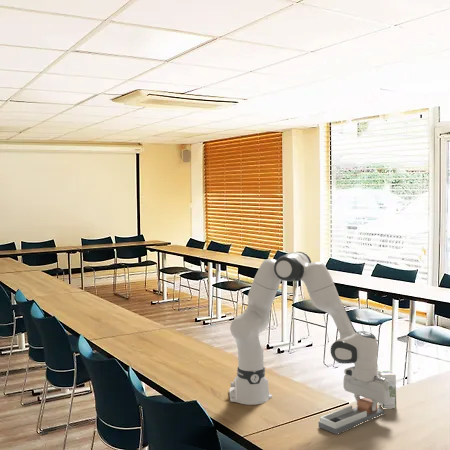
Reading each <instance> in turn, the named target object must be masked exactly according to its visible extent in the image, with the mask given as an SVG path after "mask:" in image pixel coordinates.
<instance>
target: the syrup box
mask: <svg viewBox="0 0 450 450" xmlns="http://www.w3.org/2000/svg"><path fill="white" fill-rule="evenodd" d="M396 376H397V375H396V374H395V372H393V370H378V377H380V378H384V379H385V380H386V381H387V382H388V384H389V393H390V400H389V401H388V402H387V403H384V404H383V403H380V402H378V405H379V404H380V405H381V406H382V407H383V408H396V409H397V377H396ZM386 381H385V382H386ZM380 405H379V406H380Z"/></svg>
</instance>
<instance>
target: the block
mask: <svg viewBox="0 0 450 450" xmlns="http://www.w3.org/2000/svg"><path fill="white" fill-rule="evenodd" d="M372 404H373V402H372V400H371V399H368V398H365V397H362V398H360V399H359V400H357V401H356V407H357V410H359V411H361V412H364V411H367V414H368V413H371V412H374V411H372V410H370V406H371V405H372ZM377 408H378V404H377V405H376V410H377ZM376 410H375V411H376Z"/></svg>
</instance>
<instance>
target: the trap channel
mask: <svg viewBox="0 0 450 450" xmlns="http://www.w3.org/2000/svg"><path fill="white" fill-rule="evenodd" d="M381 414H384V415H385V409H384V410H383V409H382V408H378V407H377V410H376V411H374V412H371V413H368V414H367V411H364V412H361V411H359V410H357V406H356V407H354V408H353V405H349V406H345V407H344V408H340V409H338V410H336V411H332V412H330V413H328V414H325V415H322V416H320V417H319V421H318V428H320V429H322V430H325V431H327V432H328V433H329V432H330V433H331V432H332V434H334V433H335V434H334V435H336V434H338V433H340V432H342V433H344V432H343V431H345V430H347V429H350V428H352V427H354V426H356V425H358V424H360V423H362V422H365V421H367V420H370V419H372V418H374V417H377V416H379V415H381ZM354 428H355V427H354ZM352 429H353V428H352ZM350 430H351V429H350ZM347 431H348V430H347ZM345 432H346V431H345ZM340 434H341V433H340ZM338 435H339V434H338Z"/></svg>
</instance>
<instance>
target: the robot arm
mask: <svg viewBox="0 0 450 450" xmlns="http://www.w3.org/2000/svg"><path fill="white" fill-rule="evenodd" d="M257 269H258V270H257V272H256V274H255V276H254V278H253V280H252V283H251V286H250V288H249V291H248V294H247V298H248V300H247V306H246V309H245V310H244V312H243V313H241V314H238V315H237V316H236V317H234V319H232V321H231V323H230V327H229V328H230V329H229V330H230V333H231V335H232V336H233V338H234V339H235V343H236V347H237V359H238V362H237V363H238V365H237V366H238V367H237V370H236V377H234V379H233V381H231V382H230V387H229V389H228V392H229V401H230V402H232V403H233V402H234V403H239V404H241V405H246V406H247V405H248V406H252V405H256V406H257V405H261V404H264V403H266V402H267V401H269V400H270V399H272V398H273V394H271V393H270V388H269V379H268V378H267V377H266V368H265V366H264V365H265V364H264V363H265V361H264V349H263V347H262V345H261V342H260V341H261V340H260V337H259V336H260V334H261V333H262V332H264V331H265V330H266V328H267V327H268V326H269V324H270V320H271V319H270V315H271V310H272V309H271V308H272V306H273V302H274V300H275V297H276V295H277V292H278V291H279V287H280V285H281V282H282V281H285V282H299V281H302V282H303V283H304V285H305V287H306V289H307V292H308V295H309V298H310V301H311V302H312V304H313V306H314V307H315V308H316V309H317V310H320V311H322V312H325V313H327V314H328V315H329V316H331V318H332V319H333V322H334V324H335V326H336V328H337V332H338V333H339V338H338V339H336V340H335V341H334V342H333V343H332V344H331V346H330V351H329V352H330V355H331V357H332V358H333V359H332V360H334V361H335V362H336V363H338V364H354V366H351V367H347V368H345V369H344V371H343V373H344V377H343V388H344V391H345V392H348V393H351V394H353V397H354V398H355V400H356V402H357V400H359V399H361V397H362V398H368V399H371V400H372V402H373V404H372V405H371V406H370V410H372V411H375V410H376V405H377V406H378V404H379V402H380V403H383V404H384V403H387V402H388V401H389V400H390V393H389V384H388V382H387V381H386V380H385V379H384V378H380V377H378V371H379V370H378V369H379V367H378V366H379V365H378V361H377V360H378V357H379V355H378V354H379V350H378V341H377V337H376V336H375V335H374V334H373V333H371V332H369V331H366V330H365V331H361V330H359V331H357V330H356V329H355V327H354V325H353V323H352V321H351V320H352V319H350V317H349V315H348V311H347V310H346V307H345V305H344V304H343V302H342V300H341V298H340V296H339V293H338V290H337V287H336V286H335V282H334V280H333V278H332V275H331V273H330V271H329V270H328V268H327V267H326V265H325V264H324V263H322V262H321V261H313V262H312V260H311V258H310V257H309V255H308V254H306V253H305V252H302V251H296V252H295V251H294V252H293V251H292V252H288V253H287V254H284V255H281V256H279V257H278V258H277V259H274V258H267V259H264V260H263V262H262V263H261V264H260V266H259V267H258V268H257ZM385 381H386V382H385Z"/></svg>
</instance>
